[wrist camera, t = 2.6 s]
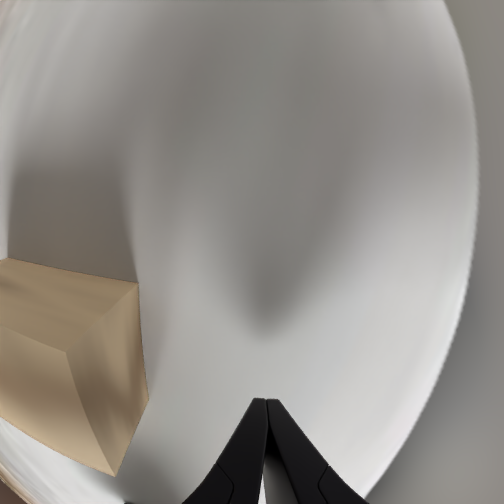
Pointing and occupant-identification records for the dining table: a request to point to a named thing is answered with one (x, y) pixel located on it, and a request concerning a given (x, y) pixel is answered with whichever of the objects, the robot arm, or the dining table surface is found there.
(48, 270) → the oak block
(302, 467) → the robot arm
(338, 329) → the dining table surface
